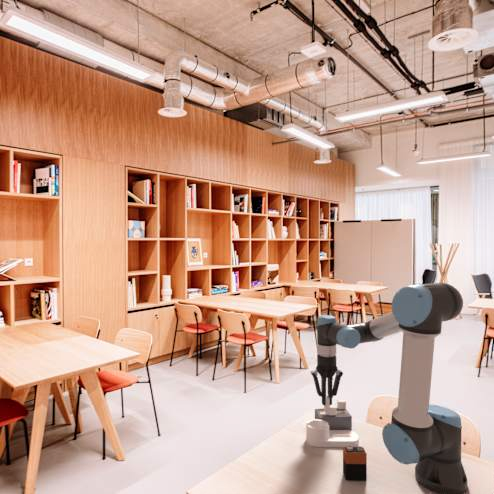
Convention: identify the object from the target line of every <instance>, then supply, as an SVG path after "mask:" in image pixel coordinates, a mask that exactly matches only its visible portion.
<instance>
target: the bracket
mask: <svg viewBox="0 0 494 494" xmlns="http://www.w3.org/2000/svg"><path fill="white" fill-rule="evenodd" d="M305 425H306V426H305V427H306V428H305V429H306V431H305V432H306V435H305V436H306V443H307V444H308V445H309V446H313V447H317V448H343V447H346V446H352V447H358V445H359V443H360V442H359V441H360V439H359V438H360V436H359V434H358V433H357V432H355V431H353V430H352V431H351V430H329V425H328V422H326V421H324V420H320V419H315V418H313V419H309V420H307V421H306V424H305Z"/></svg>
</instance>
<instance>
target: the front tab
mask: <svg viewBox="0 0 494 494" xmlns="http://www.w3.org/2000/svg"><path fill="white" fill-rule="evenodd" d="M329 415H337V406H336V405H330V414H329Z"/></svg>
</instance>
